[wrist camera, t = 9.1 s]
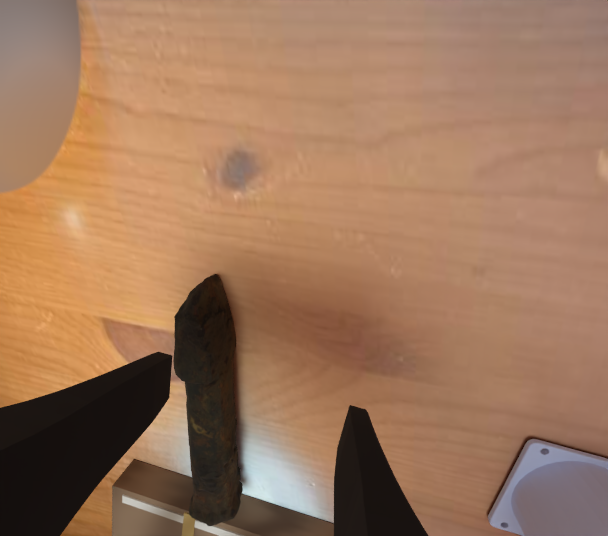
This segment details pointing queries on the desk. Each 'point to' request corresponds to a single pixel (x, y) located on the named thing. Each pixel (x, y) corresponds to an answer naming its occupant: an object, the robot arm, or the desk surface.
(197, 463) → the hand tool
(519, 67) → the desk surface
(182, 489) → the grey brown flat box
